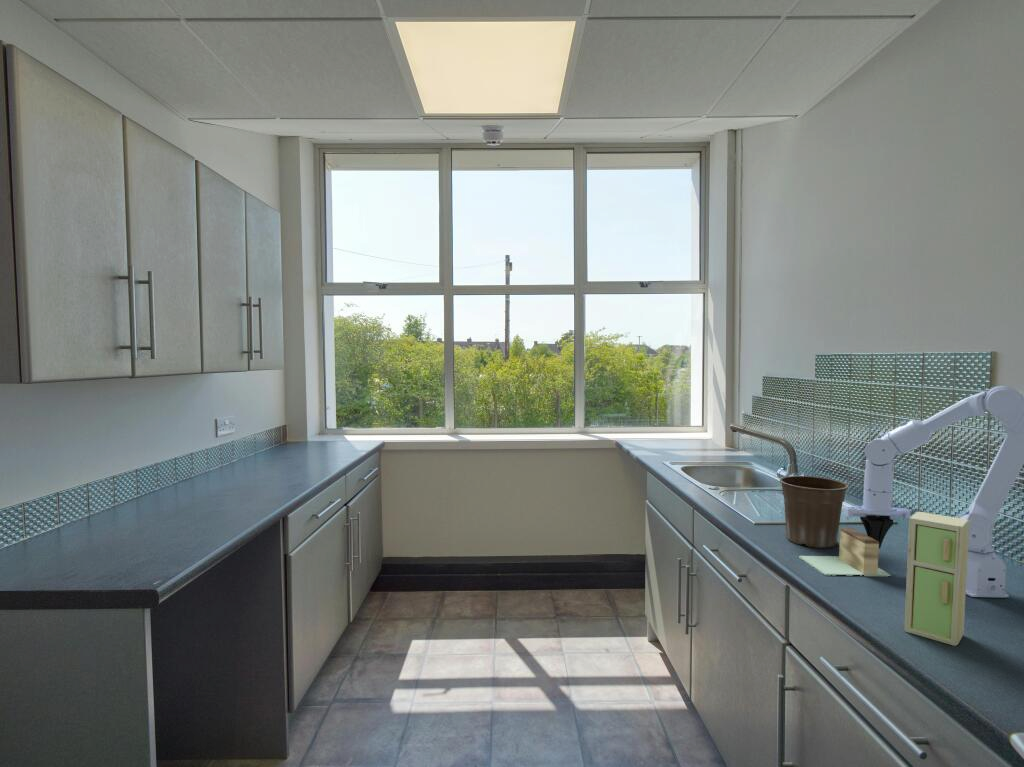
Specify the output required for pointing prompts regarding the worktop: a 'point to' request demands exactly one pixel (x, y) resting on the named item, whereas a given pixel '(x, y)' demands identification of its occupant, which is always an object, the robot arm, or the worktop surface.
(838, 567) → the rubber mat
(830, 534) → the plant pot
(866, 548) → the oak slab
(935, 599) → the toy refrigerator
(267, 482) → the worktop surface
